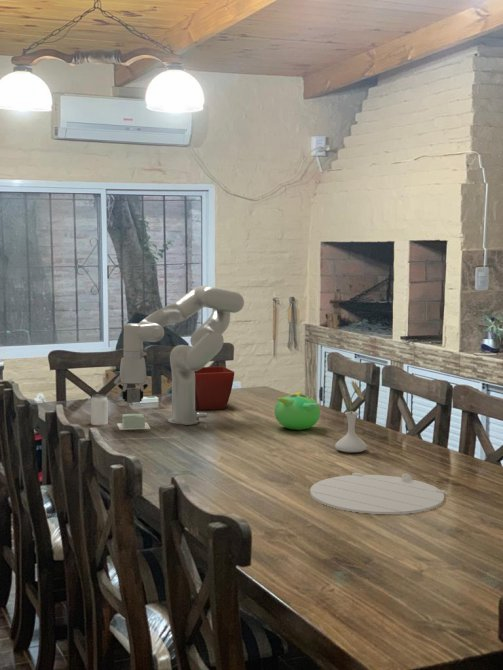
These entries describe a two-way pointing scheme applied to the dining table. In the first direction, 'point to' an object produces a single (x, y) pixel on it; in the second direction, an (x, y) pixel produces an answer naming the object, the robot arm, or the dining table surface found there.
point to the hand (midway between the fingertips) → (132, 400)
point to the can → (99, 410)
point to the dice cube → (133, 395)
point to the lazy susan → (377, 494)
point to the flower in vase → (352, 429)
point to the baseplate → (132, 428)
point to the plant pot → (213, 387)
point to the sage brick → (133, 420)
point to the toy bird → (297, 411)
